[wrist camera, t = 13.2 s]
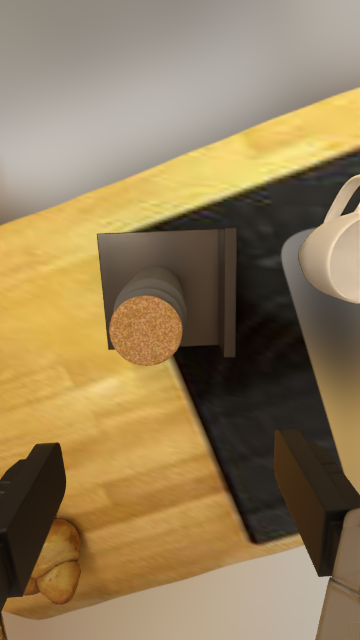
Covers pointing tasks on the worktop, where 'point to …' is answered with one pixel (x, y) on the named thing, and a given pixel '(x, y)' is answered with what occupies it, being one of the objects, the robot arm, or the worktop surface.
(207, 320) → the dark brown legged piece
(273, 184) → the worktop surface
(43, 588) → the bread roll
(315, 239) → the mug
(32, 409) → the worktop surface
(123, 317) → the bottle
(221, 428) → the worktop surface
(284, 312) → the worktop surface
